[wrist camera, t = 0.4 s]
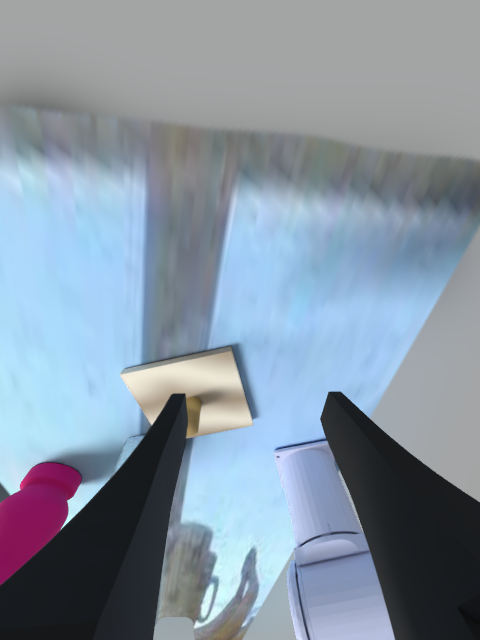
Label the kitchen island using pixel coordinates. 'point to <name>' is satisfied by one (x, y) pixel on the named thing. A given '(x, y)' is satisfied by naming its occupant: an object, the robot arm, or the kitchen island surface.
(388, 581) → the robot arm
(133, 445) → the collar
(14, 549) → the pepper mill
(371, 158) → the kitchen island surface
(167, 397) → the post block
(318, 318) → the kitchen island surface
